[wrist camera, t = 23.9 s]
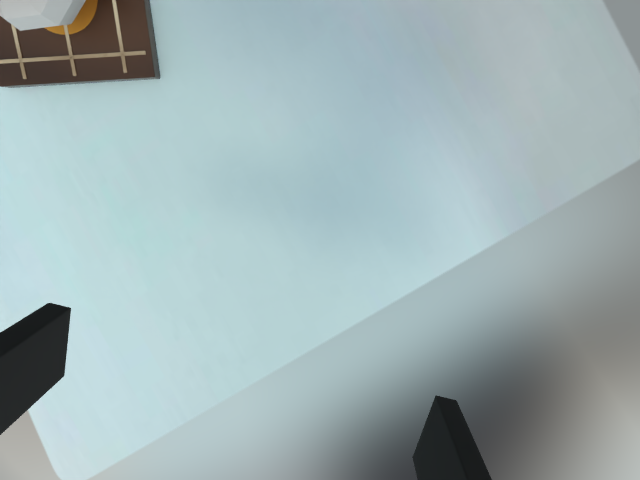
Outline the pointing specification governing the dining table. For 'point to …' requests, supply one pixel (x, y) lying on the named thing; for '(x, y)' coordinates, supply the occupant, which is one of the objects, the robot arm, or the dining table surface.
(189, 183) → the dining table surface
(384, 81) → the dining table surface
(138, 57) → the board
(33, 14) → the apple
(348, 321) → the dining table surface
